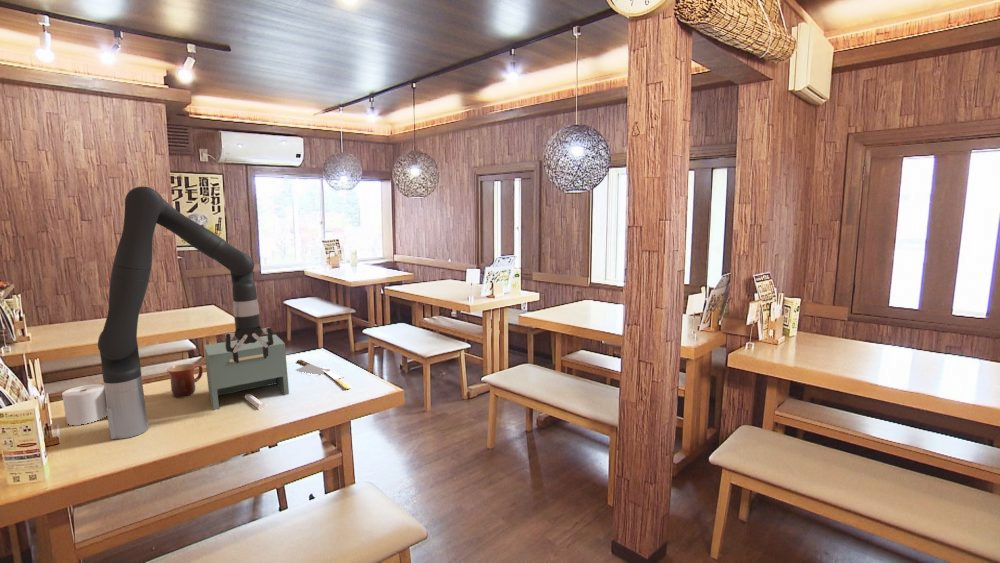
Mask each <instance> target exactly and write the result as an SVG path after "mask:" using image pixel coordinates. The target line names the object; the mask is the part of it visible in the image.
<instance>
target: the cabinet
mask: <svg viewBox="0 0 1000 563" xmlns="http://www.w3.org/2000/svg"><path fill="white" fill-rule="evenodd" d="M272 337H273V345H270V346H268V356H267V358H265V359H264V357H263V348H262V347H263V345H262V344H261V343H259V342H258V341H256V342H255V343H248V344H242V346H241V347H240V348H239V349H238V351H237V352H238V358H239V363H236V362H234V360H233V353H232V352H227V350H226V343H225V341H222V342H217V343H215V342H214V343H209V344H204V345H203V351H204V358H205V361H204V362H205V368H206V369H205V370H206V379H207V387H208V394H209V399H210V402H211V405H212V408H213V410H214V411H216V410H219V409H220V403H219V396H222V395H226V394H231V393H237V392H242V391H247V390H253V389H256V388H261V387H266V386H272V385H277V387H278V388H279V389H280V391H281V392H282V393H283V395H284V396H286V395H287V396H288V395H289V394H290V389H289V387H290V386H289V379H288V378H289V376H288V365H287V353H286V343H285V342H284V341H283V340H282V339H281V338H280V337H279V336H278V335H277V334H276V333H275V334H272ZM260 338H261V339H262V340H263V341H264V342H265V343H266V342H268V337H267V335H263V336H262V335H261V336H260ZM237 340H238V339H236V340H230V341H231V347H232V348H233V347H234V345H235V343H236V342H237ZM246 389H247V390H246ZM241 390H242V391H241Z"/></svg>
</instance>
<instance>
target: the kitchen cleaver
mask: <svg viewBox="0 0 1000 563" xmlns="http://www.w3.org/2000/svg"><path fill="white" fill-rule="evenodd" d="M296 364H298V365H299V364H300V365H301V366H300V367H299V368H296V369H295V371H297V372H299V373H302V372H304V373H305V372H306V373H310V374H311V373H312V374H318V375H319V376H322V375H325V374H324V373H325V372H324V371H323V370H325V371H326V372H329V371H330V369H331V368H330V369H324V368H322V367H319V366H316V365H315V364H314V365H313V364H311V363H309V362H307V361H304V360H303V359H299V360H296ZM304 373H303V374H304ZM321 374H322V375H321Z"/></svg>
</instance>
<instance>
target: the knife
mask: <svg viewBox="0 0 1000 563" xmlns="http://www.w3.org/2000/svg"><path fill="white" fill-rule="evenodd" d="M321 368H324V369H326V368H325V366H323V367H321ZM323 371H324V372H325V373H326V375H328V376H329V377H330V378H332V379H333V380H335V382H337V383H338V384H339V385H340V386H341V387H342V388H344V389H345V390H349V389H351V388H352V386H351V385H348V384H347V383H346V382H344V381H343V380H341V378H343V377H344V376H343V377H341V376H342V375H341V376H339V375H337V374H335V373H333V372H332V371H329V372H326V371H325V370H323ZM343 379H344V378H343Z"/></svg>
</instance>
